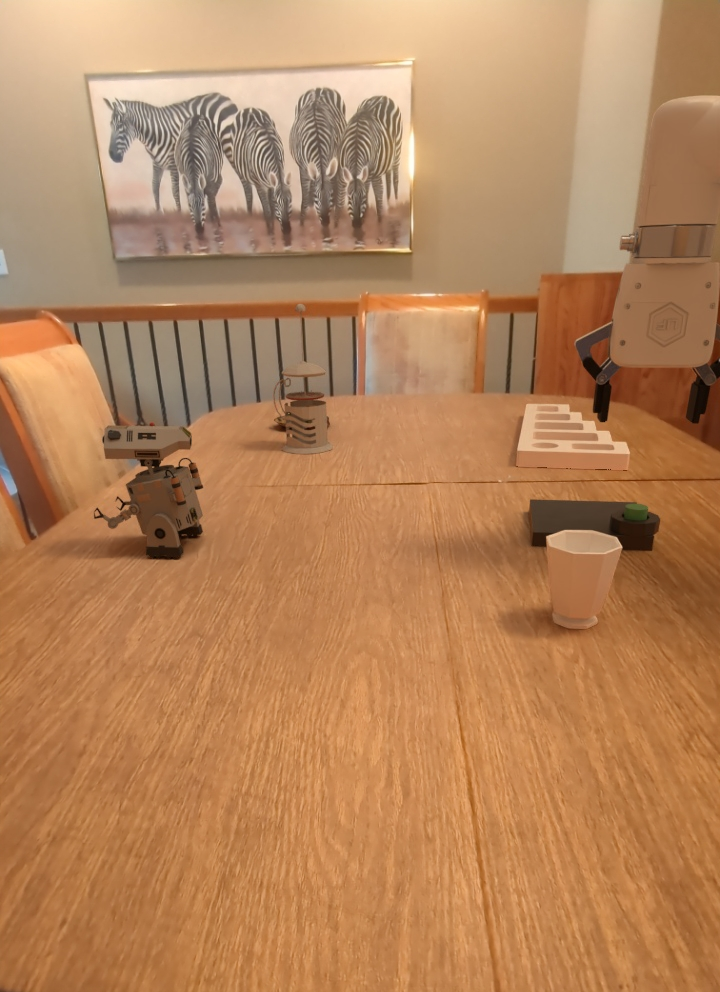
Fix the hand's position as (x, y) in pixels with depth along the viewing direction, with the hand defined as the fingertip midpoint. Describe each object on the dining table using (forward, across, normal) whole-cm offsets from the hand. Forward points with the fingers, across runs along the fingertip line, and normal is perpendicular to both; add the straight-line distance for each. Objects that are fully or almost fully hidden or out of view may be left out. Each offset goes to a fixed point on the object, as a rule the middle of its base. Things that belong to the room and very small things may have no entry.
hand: (646, 420), depth 84 cm
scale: (+15, -4, +6) cm, 17 cm away
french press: (+16, -51, +51) cm, 74 cm away
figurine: (+16, -57, -4) cm, 60 cm away
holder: (+15, -1, +61) cm, 63 cm away
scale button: (+12, +1, +2) cm, 12 cm away
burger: (+16, -56, +70) cm, 91 cm away
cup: (+15, -8, -20) cm, 26 cm away
